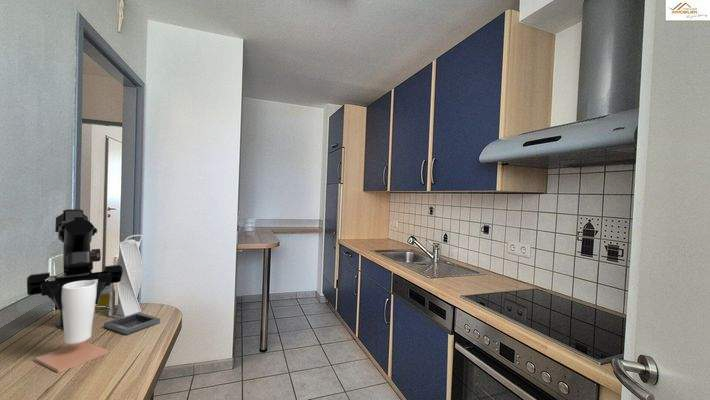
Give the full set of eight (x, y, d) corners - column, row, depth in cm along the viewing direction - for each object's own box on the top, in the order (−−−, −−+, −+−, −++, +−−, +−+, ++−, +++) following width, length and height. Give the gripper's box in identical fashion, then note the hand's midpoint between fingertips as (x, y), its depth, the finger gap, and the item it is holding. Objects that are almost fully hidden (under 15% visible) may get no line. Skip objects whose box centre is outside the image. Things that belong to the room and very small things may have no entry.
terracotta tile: (34, 360, 75) (35, 357, 75) (84, 343, 84) (84, 341, 84) (58, 372, 70) (58, 369, 70) (108, 353, 79) (108, 350, 79)
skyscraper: (132, 308, 111) (134, 233, 111) (147, 311, 108) (149, 235, 108) (107, 316, 103) (108, 236, 103) (122, 320, 100) (123, 237, 100)
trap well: (104, 327, 94) (104, 322, 94) (138, 316, 103) (138, 312, 103) (126, 335, 89) (126, 330, 89) (159, 323, 98) (160, 318, 98)
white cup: (65, 349, 73) (67, 290, 73) (55, 341, 77) (57, 284, 76) (99, 338, 79) (101, 283, 79) (88, 331, 83) (90, 278, 82)
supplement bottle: (98, 308, 110) (98, 282, 110) (116, 305, 113) (116, 280, 113) (94, 313, 106) (94, 286, 106) (113, 310, 108) (114, 284, 109)
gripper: (28, 242, 74) (24, 298, 66) (122, 237, 87) (128, 282, 79) (29, 268, 79) (25, 322, 72) (117, 259, 93) (122, 303, 85)
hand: (79, 306), depth 77 cm, fingers closed on white cup, 7 cm apart
